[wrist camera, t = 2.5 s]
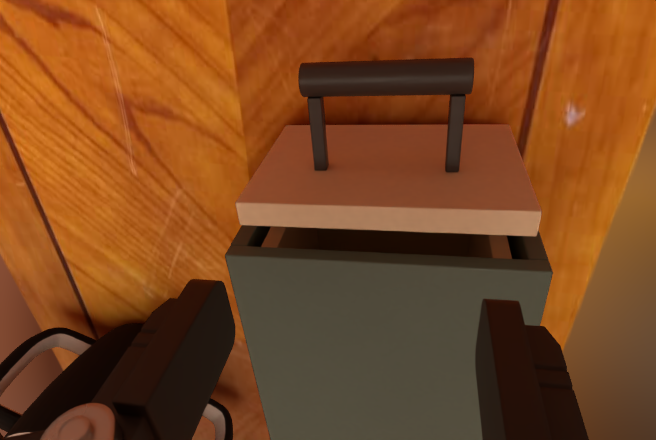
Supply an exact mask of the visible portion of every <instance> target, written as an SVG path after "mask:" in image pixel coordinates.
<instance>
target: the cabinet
mask: <svg viewBox="0 0 656 440" xmlns="http://www.w3.org/2000/svg"><path fill="white" fill-rule="evenodd" d="M270 228H271V226H252V225H242V226H241V228H240V230H239V231H238V233H237V235H236V237H235V238H234V240H233V242H232V243H231V246H230V248H229V249H228V251H227V253H226V254H225V258H226V262H227V266H228V270H229V274H230V278H231V282H232V286H233V290H234V294H235V298H236V302H237V306H238V310H239V314H240V318H241V322H242V326H243V330H244V335H245V339H246V343H247V347H248V351H249V355H250V359H251V363H252V367H253V371H254V375H255V379H256V383H257V387H258V391H259V395H260V399H261V403H262V407H263V411H264V415H265V419H266V423H267V427H268V431H269V435H270V439H271V440H483V438H482V428H481V419H480V409H479V399H478V390H477V380H476V369H475V350H476V341H477V334H478V327H479V320H480V313H481V306H482V301H483V299H500V300H516V301H519V303H520V306H521V310H522V314H523V319H524V323H525V325H532V326H540V323H541V319H542V315H543V311H544V307H545V303H546V299H547V295H548V291H549V286H550V282H551V278H552V274H553V272H552V269H551V266H550V263H549V261H548V257H547V254H546V251H545V248H544V246H543V243H542V240H541V237H540V234H539V231H538V233H537V236H510V235H507V239H508V243H509V248H510V252H511V256H512V259H503V258H482V257H462V256H441V255H420V254H399V253H378V252H357V251H336V250H315V249H294V248H273V247H261V246H262V244H263V242H264V240H265V238H266V236H267V234H268V232H269V230H270Z"/></svg>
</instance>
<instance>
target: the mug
mask: <svg viewBox="0 0 656 440" xmlns="http://www.w3.org/2000/svg"><path fill="white" fill-rule="evenodd" d="M143 325H144V324H126V325H122V326H120V327H117V328H115V329H113V330H111V331H110V332H108V333H107V334H105V335H104V336H102V337H101V338H100V339H99V340H97V341H96V340H94V339H92V338H90V337H87V336H85V335H83V334H80V333H78V332H76V331H73V330H70V329H67V328H52V329H48V330H45V331H43V332H41V333H39V334H37V335H35V336H33V337H31V338H29V339H28V340H26V341H25V342H24V343H22V344H21V345H20V346H19V347H17V348H16V349H15V350H14V351H13V352H12V353H11V354H10V355H9V356H8V357H7V358H6V359H5V360H4V361H3V362H2V363H1V364H0V396H1V395H2V393H3V392H4V391H5V389H6V388H7V387H8V386H9V385H10V383H11V382H12V381H13V380H14V379H15V378H16V376H17V375H18V374H19V373H20V372H21V371H22V370H23V369H24V368H25V367H26V366H27V365H28V363H30V362H31V361H32V360H33V359H34V358H35V357H36V356H38V355H39V354H40V353H42V352H44V351H46V350H48V349H50V348H53V347H61V348H64V349H67V350H69V351H72V352H74V353H76V354H78V355H80V356H79V357H78V358H77V359H76V360H75V361H74V362H73V363H71V364H70V365H69V366H68V367H67V368H66V369H65V370H64V371H63V372H62V373H61V374H60V375H59V376H58V377H57V378H56V379H55V380H54V381H53V382H52V383H51V384H50V385H49V386H48V387H47V388H46V389H45V390H44V391H43V392H42V393H41V395H40V396H39V397H38V398H37V399H36V400H35V401H34V402H33V403H32V404H31V406H30V407H29V408H28V409H27V410H26V411H25V412H24V414H23V415H22V414H20V413H18V412H16V411H14V410H12V409H10V408H7V407H5V406H3V405H1V404H0V428H1V429H2V430H4V431H6V432H8V433H7V434H6V435H5V437H4V438H6V437H11V436H17V435H22V434H27V433H32V432H37V431H43V430H46V429H47V428H48V427H49V426H50V425H51V423H52V422H54V421H55V420H56V419H57V418H58V417H59V416H61V415H62V414H63V413H65V412H67V411H68V410H70V409H72V408H74V407H77V406H80V405H83V404H88V403H90V402H91V401H92V400H93V398H94V397H95V395H96V394H97V393H98V391H99V390H100V388H101V387H102V385H103V384H104V382H105V381H106V379H107V378H108V377H109V375H110V374H111V372H112V371H113V369H114V368H115V366H116V365H117V363H118V362H119V360H120V359H121V358H122V356H123V355H124V353H125V352H126V350H127V349H128V347H131V345H132V341H133V340H134V339H135V337H136V336H137V334H138V333H140V332H141V328H142V327H143ZM202 416H204V417H206V418H207V419H209V420H210V421H212V422H213V424H214V426H215V440H233V425H232V419H231V416H230V413H229V412H228V410H227V409H226V408H225V407H224V406H223V405H221V404H219V403H218V402H216V401H215V400H213V399H211V398H210V399H209V401H208V404H207V406H206V408H205V410H204V413H203V415H202Z"/></svg>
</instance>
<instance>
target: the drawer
mask: <svg viewBox="0 0 656 440" xmlns="http://www.w3.org/2000/svg"><path fill="white" fill-rule="evenodd" d="M473 80H474V60H473V58H445V59H412V60H380V61H347V62H315V63H302V64H301V65H300V68H299V89H300V92H301V95H302V96H303V97H308V99H307V100H308V110H309V120H310V125H286V126H285V128H284V129H283V131H282V132H281V134H280V135H279V137H278V138H277V140H276V142H275V143H274V145H273V146H272V148H271V149H270V151H269V152H268V154H267V155H266V157H265V158H264V160H263V161H262V163H261V164H260V166H259V167H258V169H257V170H256V172H255V173H254V175H253V176H252V178H251V180H250V181H249V183H248V184H247V186H246V187H245V189H244V190H243V192H242V193H241V195H240V196H239V198H238V199H237V201H236V203H235V204H236V209H237V213H238V218H239V223H240V225H252V226H271V228H270V230H269V232H268V234H267V236H266V238H265V240H264V242H263V244H262V246H261V247H273V248H294V249H315V250H336V251H357V252H378V253H399V254H420V255H441V256H462V257H482V258H503V259H512V256H511V252H510V248H509V243H508V239H507V235H510V236H537V233H538V228H539V223H540V219H541V214H542V211H541V208H540V206H539V203H538V200H537V198H536V195H535V192H534V190H533V187H532V184H531V182H530V179H529V176H528V174H527V171H526V168H525V166H524V163H523V160H522V158H521V155H520V152H519V150H518V147H517V144H516V142H515V139H514V136H513V134H512V131H511V128H510V126H509V124H463V122H464V110H465V99H466V96H465V94H471V92H472V88H473ZM395 95H450V101H449V115H448V125H325V113H324V101H323V97H333V96H395Z"/></svg>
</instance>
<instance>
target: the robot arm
mask: <svg viewBox="0 0 656 440" xmlns="http://www.w3.org/2000/svg"><path fill="white" fill-rule="evenodd" d="M234 339H235V323H234V319H233V315H232V311H231V307H230V303H229V300H228V296H227V292H226V288H225V285H224V283H223V282H222V281H215V280H199V279H192V280H190V281H189V282H188V283H187V285H186V286H185V288H184V289H183V291H182V293H181V294H180V296H179V297H178V299H174V298H170V299H168V300H167V301H166V302H165V303H163V304H162V305H161V306H160V307H158V308H157V309H156V310H155V311H153V312H152V314H151V315H150V317H149V318H148V320H147V321H146V322H145V324H144V325H143V327H142V328H141V332H140V333H138V334H137V336H136V337H135V339H134V340H133V341H132V345H131V347H128V349H127V350H126V352H125V353H124V355H123V356H122V358H121V359H120V360H119V362H118V363H117V365H116V366H115V368H114V369H113V371H112V372H111V374H110V375H109V377H108V378H107V379H106V381H105V382H104V384H103V385H102V387H101V388H100V390H99V391H98V393H97V394H96V395H95V397H94V398H93V400H92V401H91V402H90V403H88V404H83V405H80V406H77V407H74V408H72V409H70V410H68V411H67V412H65V413H63V414H62V415H61V416H59V417H58V418H57V419H56V420H55V421H54V422H52V423H51V425H50V426H49V427H48V428H47V429H46V430H43V431H37V432H32V433H27V434H22V435H17V436H11V437H6V438H4V437H3V436H2V435H1V433H0V440H191V439H192V437H193V435H194V433H195V430H196V428H197V426H198V424H199V421H200V419H201V417H202V415H203V413H204V410H205V408H206V406H207V404H208V401H209V399H210V397H211V395H212V392H213V390H214V388H215V386H216V383H217V381H218V379H219V377H220V374H221V372H222V370H223V368H224V365H225V363H226V361H227V359H228V357H229V354H230V352H231V350H232V347H233V344H234ZM475 369H476V380H477V390H478V399H479V409H480V419H481V428H482V438H483V440H589V439H588V436H587V432H586V429H585V426H584V422H583V419H582V416H581V412H580V409H579V406H578V403H577V399H576V396H575V393H574V391H573V390H572V383H571V379H570V376H569V373H568V372H567V366H566V363H565V360H564V356H563V353H562V350H561V347H560V345H559V344H558V342H557V341H556V340H555V339H554V338H553V336H552V335H551V334H550V333H549V332H548V330H547V329H546V328H545V327H544V326H532V325H525V323H524V319H523V314H522V310H521V306H520V303H519V301H516V300H500V299H483V301H482V306H481V313H480V320H479V327H478V334H477V341H476V350H475Z"/></svg>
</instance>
